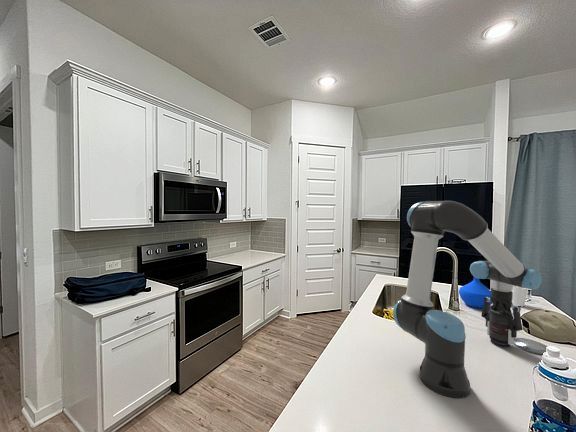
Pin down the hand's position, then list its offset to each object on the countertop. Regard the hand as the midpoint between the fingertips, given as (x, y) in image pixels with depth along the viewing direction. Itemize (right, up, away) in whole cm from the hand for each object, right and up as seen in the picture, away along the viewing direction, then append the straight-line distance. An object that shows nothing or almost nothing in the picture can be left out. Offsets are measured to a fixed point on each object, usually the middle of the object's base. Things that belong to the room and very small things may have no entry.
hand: (500, 338), depth 113 cm
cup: (+52, -2, +48) cm, 71 cm away
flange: (+11, -2, -3) cm, 12 cm away
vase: (+24, -2, +46) cm, 52 cm away
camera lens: (0, -2, 0) cm, 2 cm away
